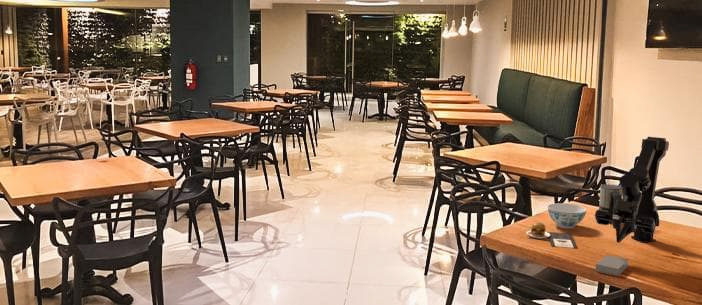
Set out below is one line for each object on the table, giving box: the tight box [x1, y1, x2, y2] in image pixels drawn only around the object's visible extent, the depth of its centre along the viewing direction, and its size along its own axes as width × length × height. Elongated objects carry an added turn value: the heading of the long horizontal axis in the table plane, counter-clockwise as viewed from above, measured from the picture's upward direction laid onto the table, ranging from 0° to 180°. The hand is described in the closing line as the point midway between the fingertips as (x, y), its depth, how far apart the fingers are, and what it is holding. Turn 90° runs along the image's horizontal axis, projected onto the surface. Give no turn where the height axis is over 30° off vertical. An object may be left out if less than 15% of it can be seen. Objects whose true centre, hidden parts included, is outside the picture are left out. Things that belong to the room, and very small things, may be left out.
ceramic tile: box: [595, 254, 629, 277], centre depth 211 cm, size 3×7×12 cm
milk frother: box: [598, 183, 623, 224], centre depth 267 cm, size 14×16×15 cm
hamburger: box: [526, 221, 550, 243], centre depth 247 cm, size 12×12×6 cm
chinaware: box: [547, 202, 587, 230], centre depth 259 cm, size 15×15×8 cm
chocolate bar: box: [546, 231, 578, 249], centre depth 241 cm, size 9×1×18 cm
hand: (618, 242), depth 214 cm, fingers closed
